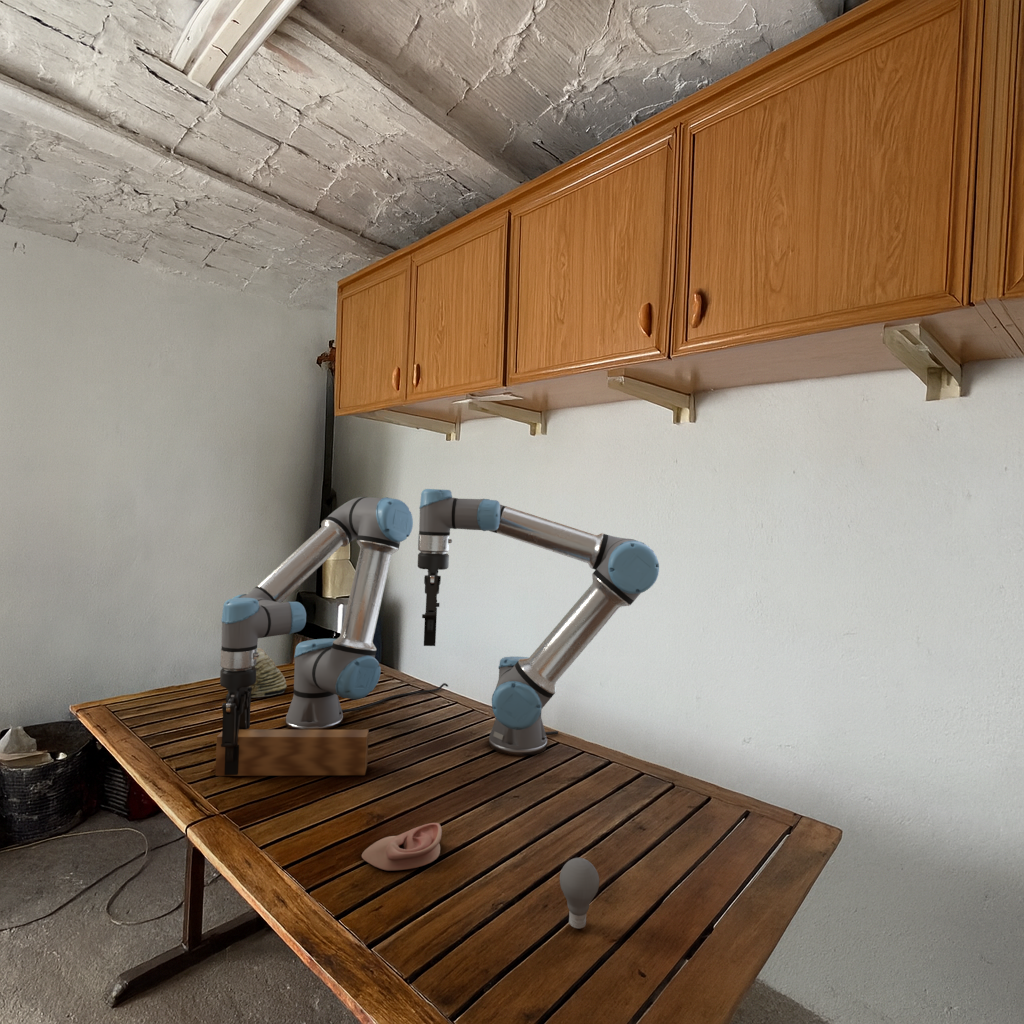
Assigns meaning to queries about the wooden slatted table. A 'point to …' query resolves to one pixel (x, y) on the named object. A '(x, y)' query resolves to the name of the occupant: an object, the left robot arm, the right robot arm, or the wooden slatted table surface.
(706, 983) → the wooden slatted table surface
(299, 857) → the wooden slatted table surface
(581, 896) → the light bulb
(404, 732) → the wooden slatted table surface
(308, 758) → the bar
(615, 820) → the wooden slatted table surface
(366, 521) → the left robot arm
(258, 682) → the fossil
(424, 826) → the anatomical model
